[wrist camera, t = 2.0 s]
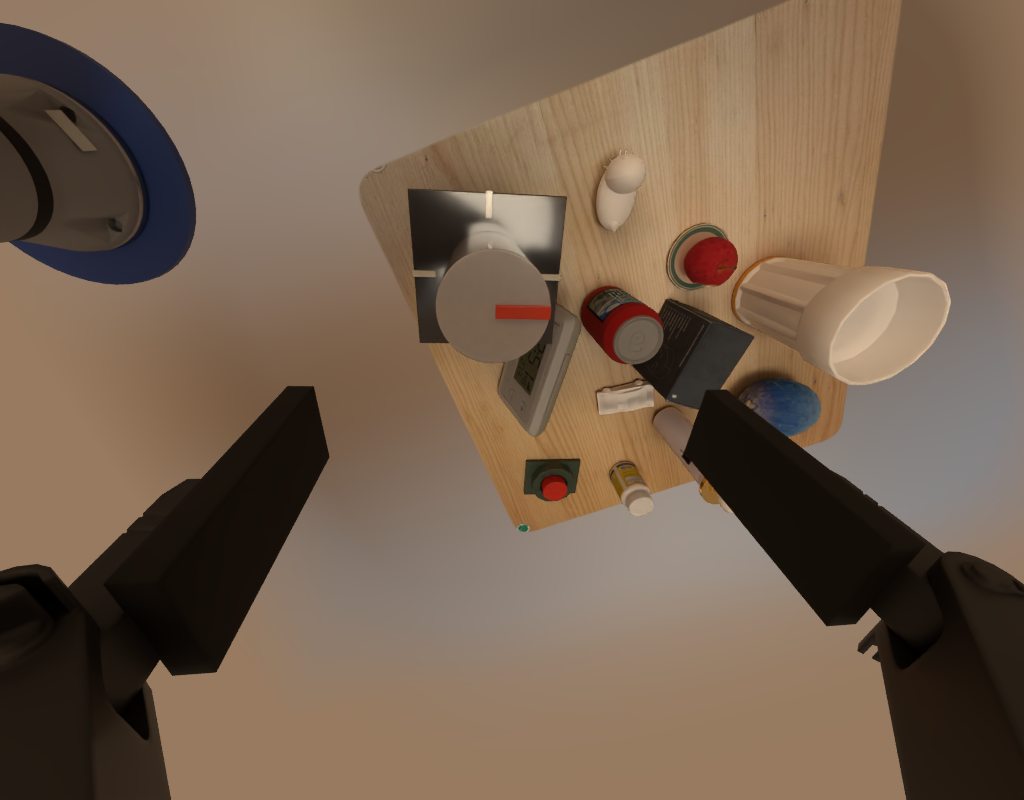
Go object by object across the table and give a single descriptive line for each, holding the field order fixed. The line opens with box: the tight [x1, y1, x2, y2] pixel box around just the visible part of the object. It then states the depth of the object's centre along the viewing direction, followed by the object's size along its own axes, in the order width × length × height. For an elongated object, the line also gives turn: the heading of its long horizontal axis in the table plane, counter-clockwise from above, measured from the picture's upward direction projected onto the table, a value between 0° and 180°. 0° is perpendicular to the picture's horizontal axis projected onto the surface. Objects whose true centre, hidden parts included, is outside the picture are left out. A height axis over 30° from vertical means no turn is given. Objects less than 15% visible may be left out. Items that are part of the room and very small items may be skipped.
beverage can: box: [581, 286, 663, 364], centre depth 44 cm, size 7×7×12 cm
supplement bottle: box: [609, 462, 654, 516], centre depth 60 cm, size 5×5×8 cm
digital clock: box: [498, 303, 581, 437], centre depth 47 cm, size 16×9×11 cm, turn 154°
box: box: [633, 299, 754, 410], centre depth 48 cm, size 11×7×10 cm, turn 161°
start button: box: [541, 475, 567, 501], centre depth 60 cm, size 4×4×2 cm
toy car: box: [597, 380, 654, 415], centre depth 55 cm, size 5×8×2 cm, turn 103°
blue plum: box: [738, 378, 821, 437], centre depth 55 cm, size 9×9×15 cm
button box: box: [524, 459, 580, 501], centre depth 62 cm, size 9×7×2 cm
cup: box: [732, 257, 951, 385], centre depth 43 cm, size 11×11×17 cm
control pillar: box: [408, 189, 567, 344], centre depth 33 cm, size 9×9×24 cm
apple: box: [667, 224, 738, 291], centre depth 45 cm, size 8×8×6 cm
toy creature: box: [596, 149, 646, 233], centre depth 40 cm, size 5×8×6 cm, turn 177°
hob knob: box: [436, 232, 551, 363], centre depth 19 cm, size 5×5×8 cm
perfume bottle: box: [653, 407, 734, 514], centre depth 50 cm, size 6×6×20 cm
